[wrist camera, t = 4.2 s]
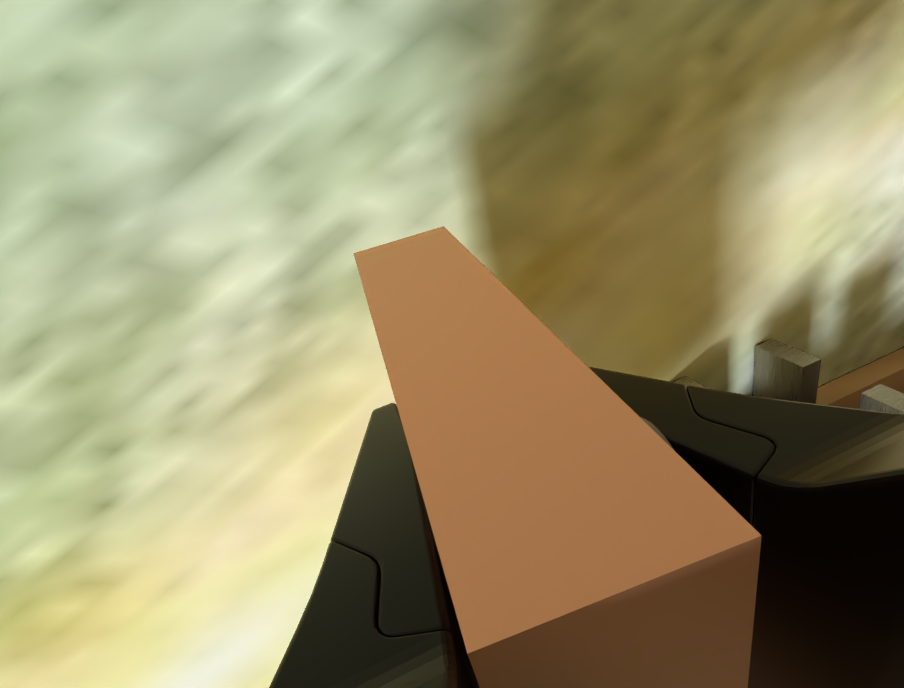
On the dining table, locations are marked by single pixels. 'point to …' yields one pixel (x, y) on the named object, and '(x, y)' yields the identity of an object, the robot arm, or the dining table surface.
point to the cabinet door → (553, 493)
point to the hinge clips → (803, 379)
